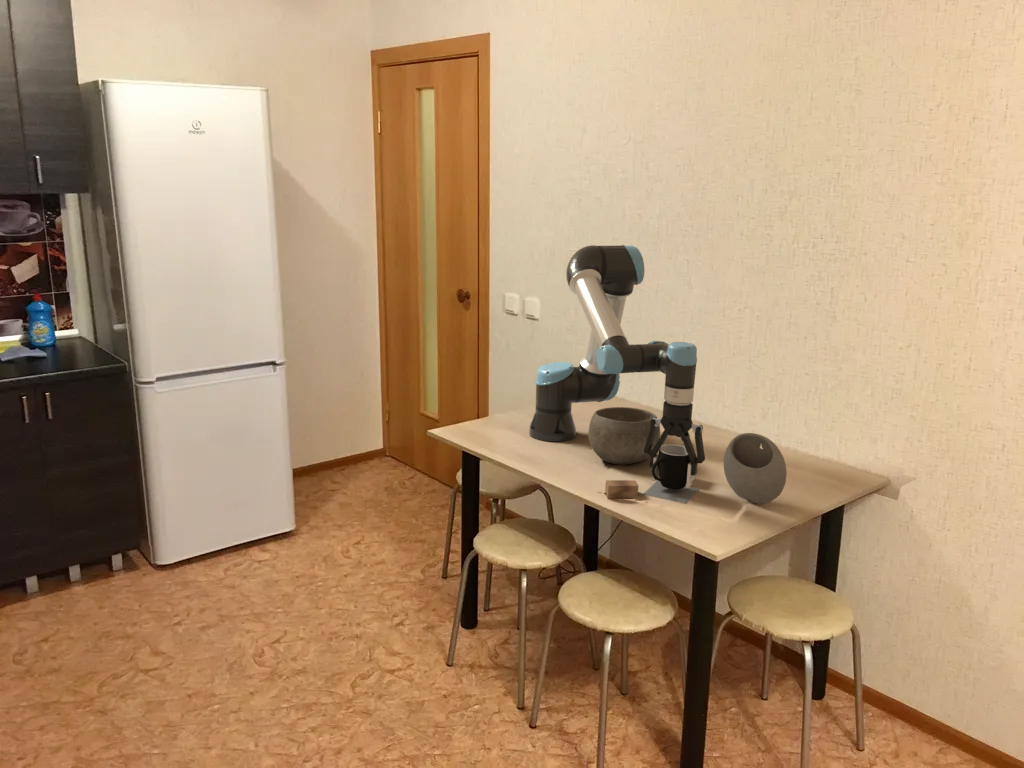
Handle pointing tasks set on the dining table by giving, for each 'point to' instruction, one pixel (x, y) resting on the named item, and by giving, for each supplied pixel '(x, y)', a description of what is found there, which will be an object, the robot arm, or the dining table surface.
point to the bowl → (621, 434)
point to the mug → (672, 466)
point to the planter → (755, 468)
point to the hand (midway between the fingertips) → (671, 482)
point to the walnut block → (621, 489)
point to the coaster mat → (671, 493)
